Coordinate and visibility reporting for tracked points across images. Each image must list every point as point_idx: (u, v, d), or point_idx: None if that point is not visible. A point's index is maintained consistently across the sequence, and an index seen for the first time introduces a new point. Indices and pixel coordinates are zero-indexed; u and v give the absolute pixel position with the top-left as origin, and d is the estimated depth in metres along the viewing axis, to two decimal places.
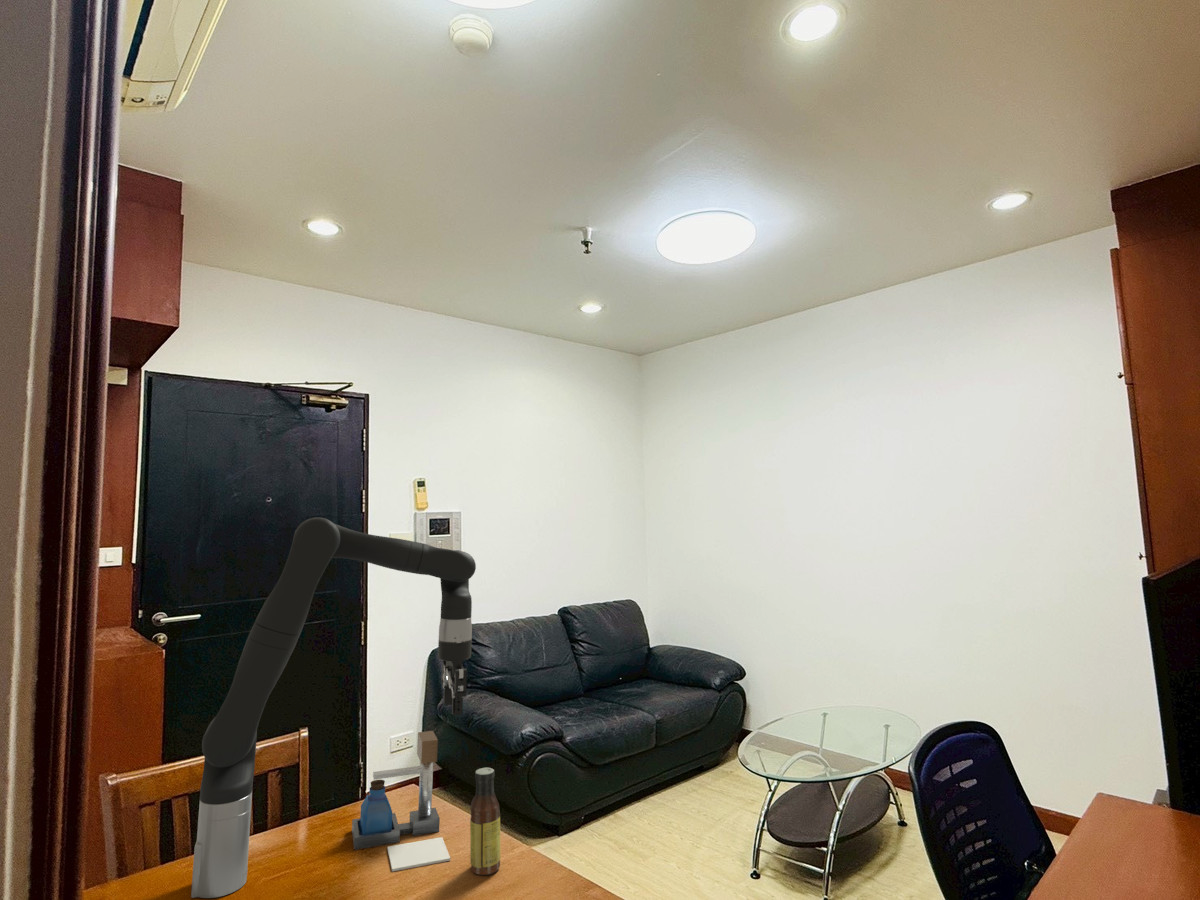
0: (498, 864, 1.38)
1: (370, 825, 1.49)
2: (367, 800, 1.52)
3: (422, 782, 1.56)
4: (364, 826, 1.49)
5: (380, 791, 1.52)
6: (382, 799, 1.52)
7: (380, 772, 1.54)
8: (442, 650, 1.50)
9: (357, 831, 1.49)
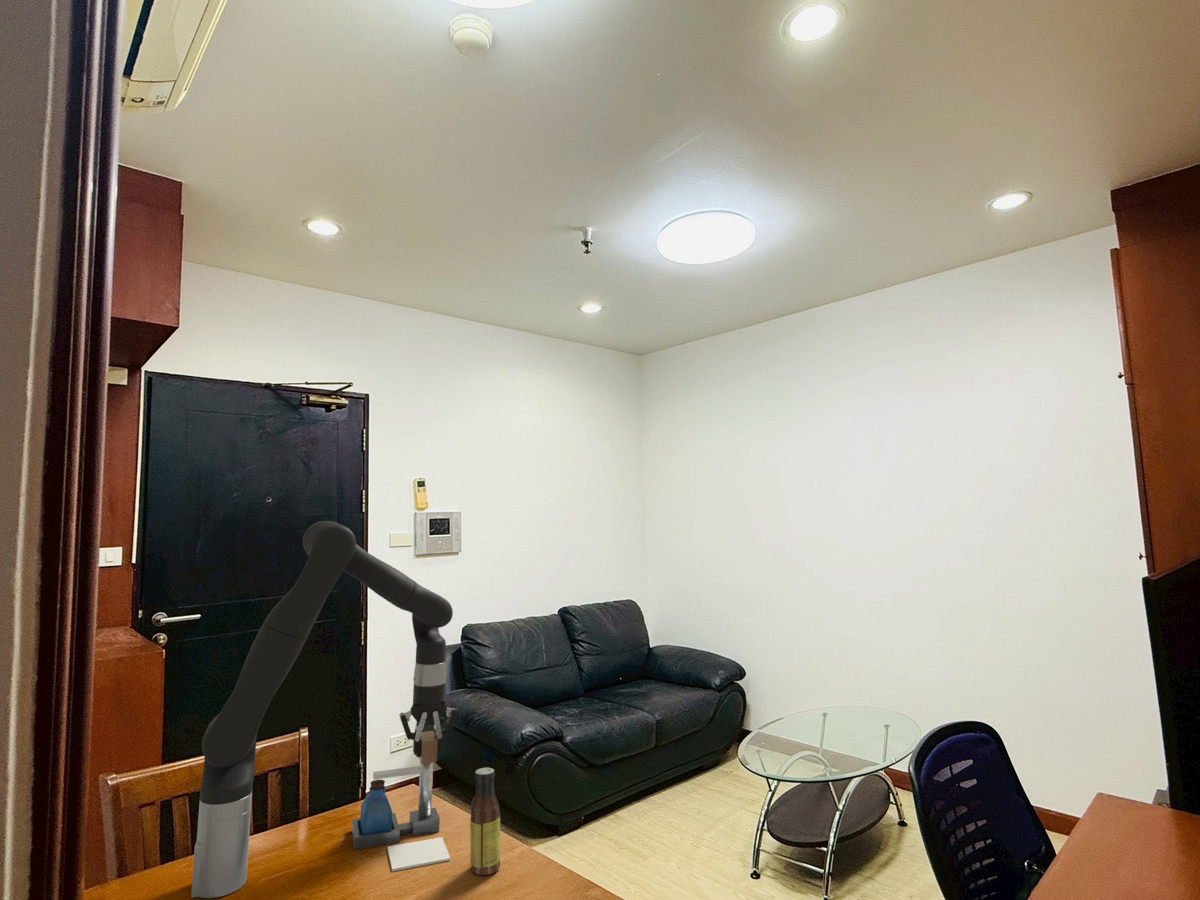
0: (498, 864, 1.38)
1: (370, 825, 1.49)
2: (367, 800, 1.52)
3: (422, 782, 1.56)
4: (364, 826, 1.49)
5: (380, 791, 1.52)
6: (382, 799, 1.52)
7: (380, 772, 1.54)
8: (439, 693, 1.57)
9: (357, 831, 1.49)
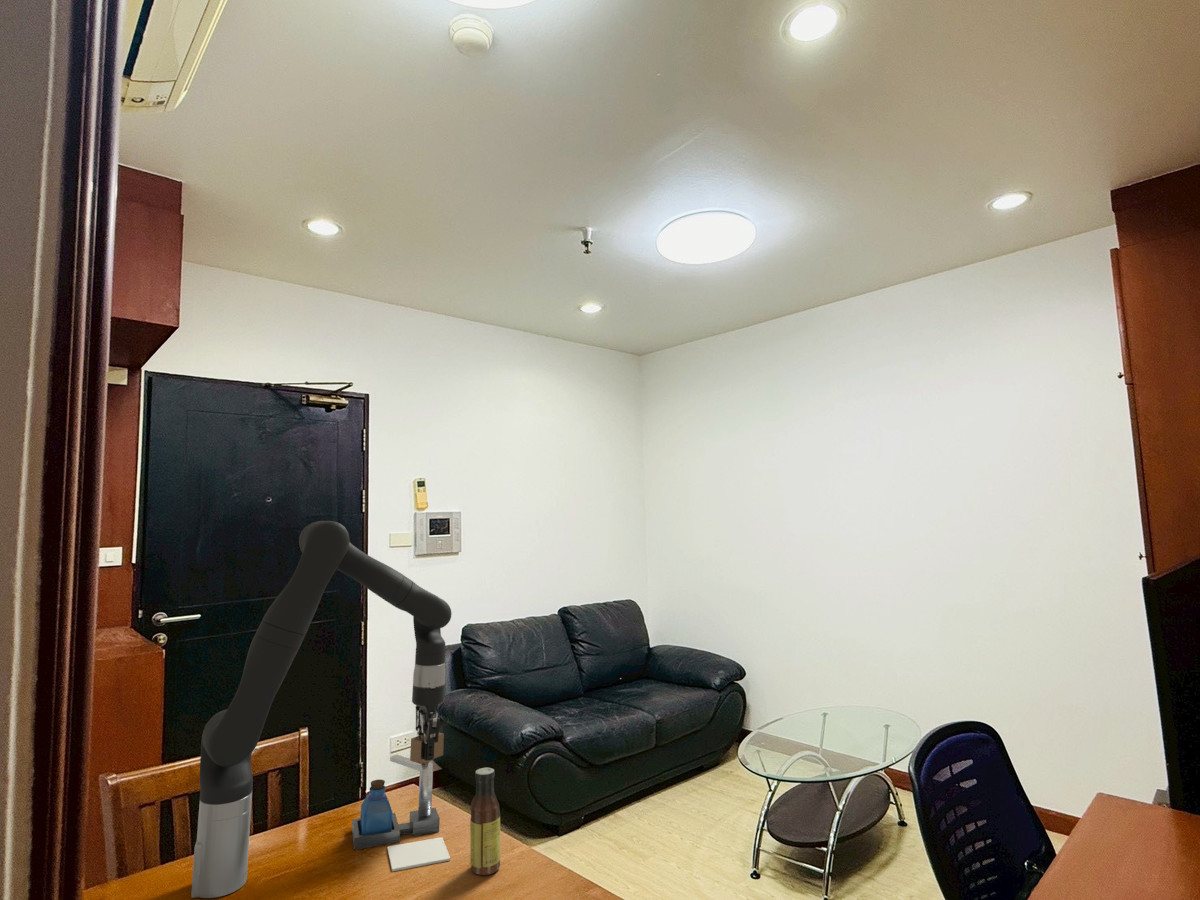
0: (498, 864, 1.38)
1: (370, 825, 1.49)
2: (367, 800, 1.52)
3: (419, 780, 1.57)
4: (364, 826, 1.49)
5: (380, 791, 1.52)
6: (382, 799, 1.52)
7: (397, 757, 1.64)
8: (417, 695, 1.56)
9: (357, 831, 1.49)
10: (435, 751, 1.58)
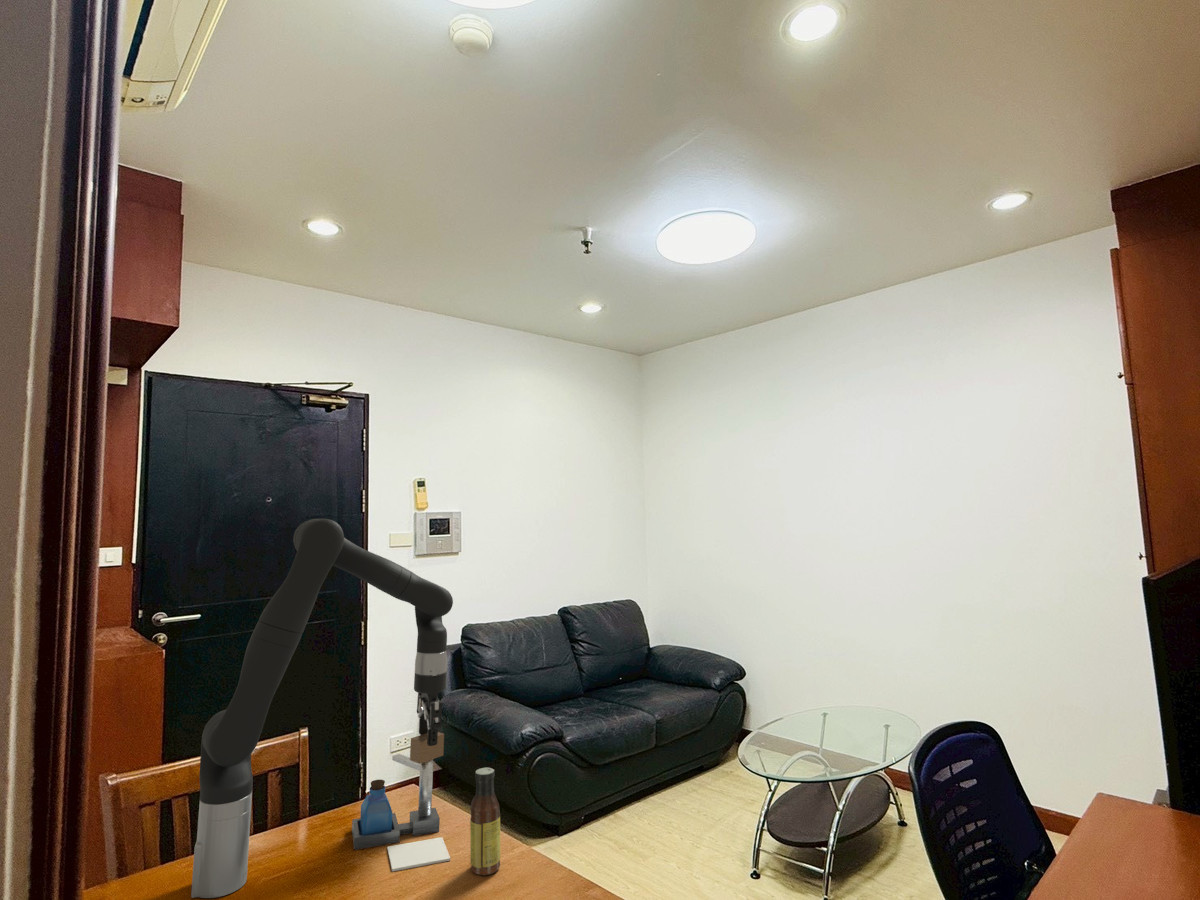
0: (498, 864, 1.38)
1: (370, 825, 1.49)
2: (367, 800, 1.52)
3: (419, 780, 1.57)
4: (364, 826, 1.49)
5: (380, 791, 1.52)
6: (382, 799, 1.52)
7: (399, 756, 1.64)
8: (418, 682, 1.57)
9: (357, 831, 1.49)
10: (435, 751, 1.58)
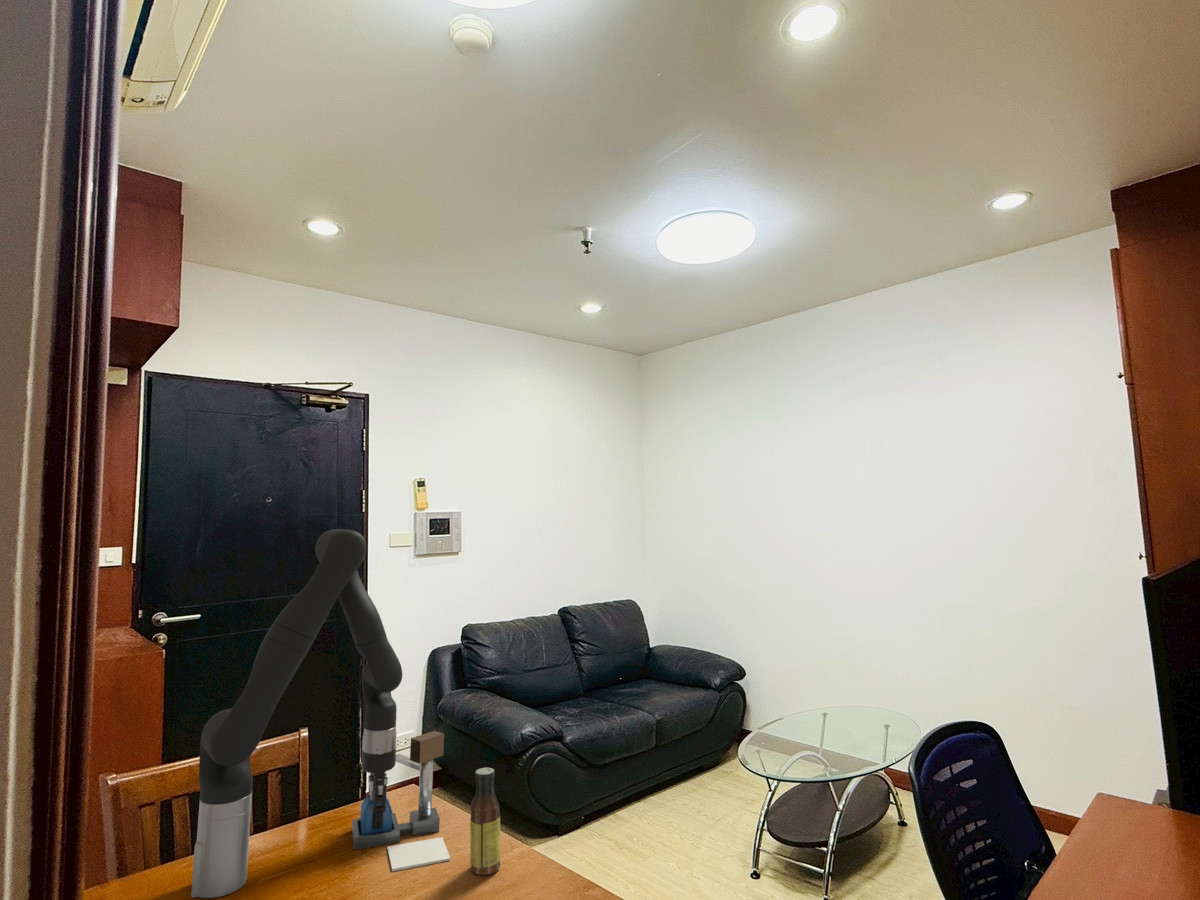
0: (498, 864, 1.38)
1: (370, 824, 1.49)
2: (367, 800, 1.52)
3: (419, 780, 1.57)
4: (364, 826, 1.49)
5: None
6: None
7: (399, 756, 1.64)
8: (364, 761, 1.51)
9: (357, 831, 1.49)
10: (435, 751, 1.58)
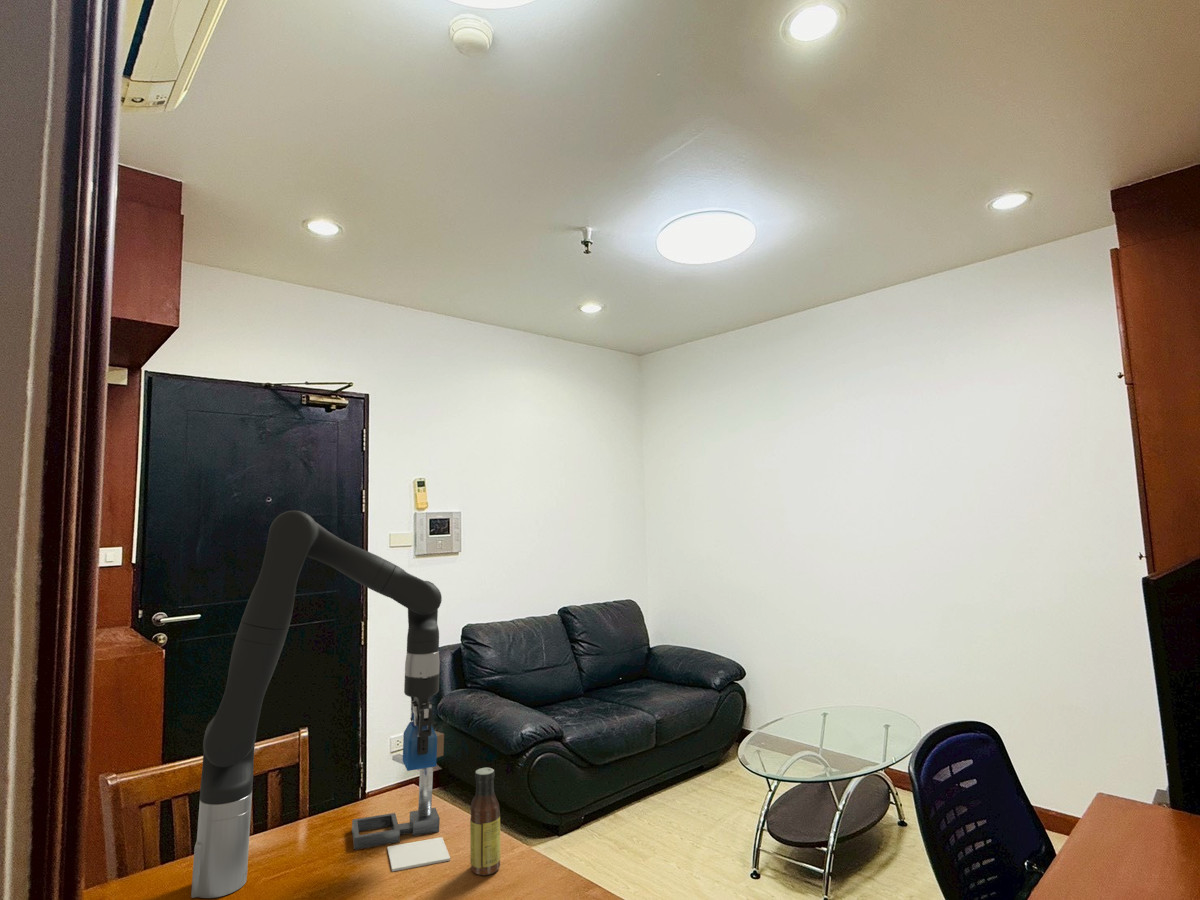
0: (498, 864, 1.38)
1: (415, 750, 1.44)
2: (411, 726, 1.47)
3: (419, 780, 1.57)
4: (409, 751, 1.43)
5: None
6: None
7: (399, 756, 1.64)
8: (408, 685, 1.46)
9: (357, 831, 1.49)
10: None
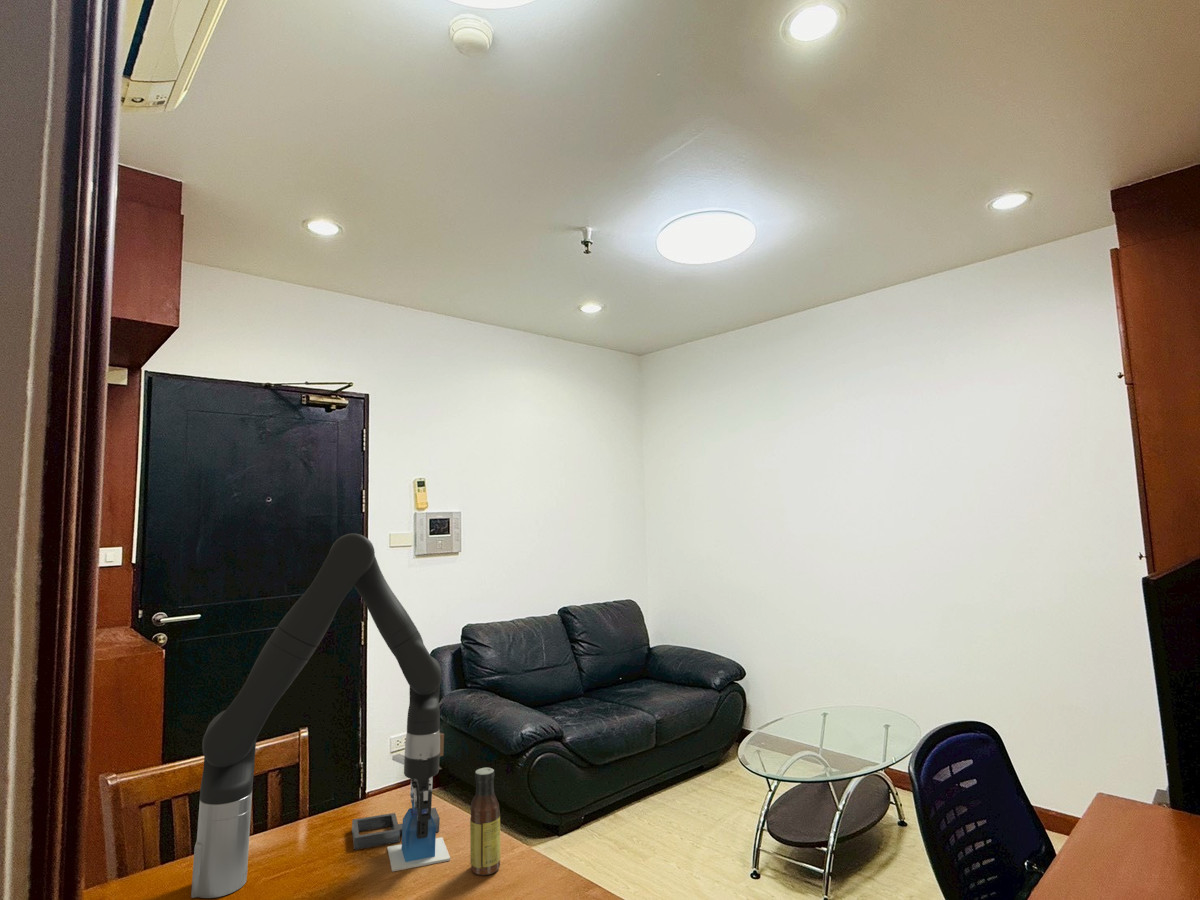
0: (498, 864, 1.38)
1: (413, 840, 1.41)
2: (409, 814, 1.44)
3: None
4: (407, 841, 1.41)
5: None
6: None
7: (399, 756, 1.64)
8: (407, 767, 1.43)
9: (357, 831, 1.49)
10: None
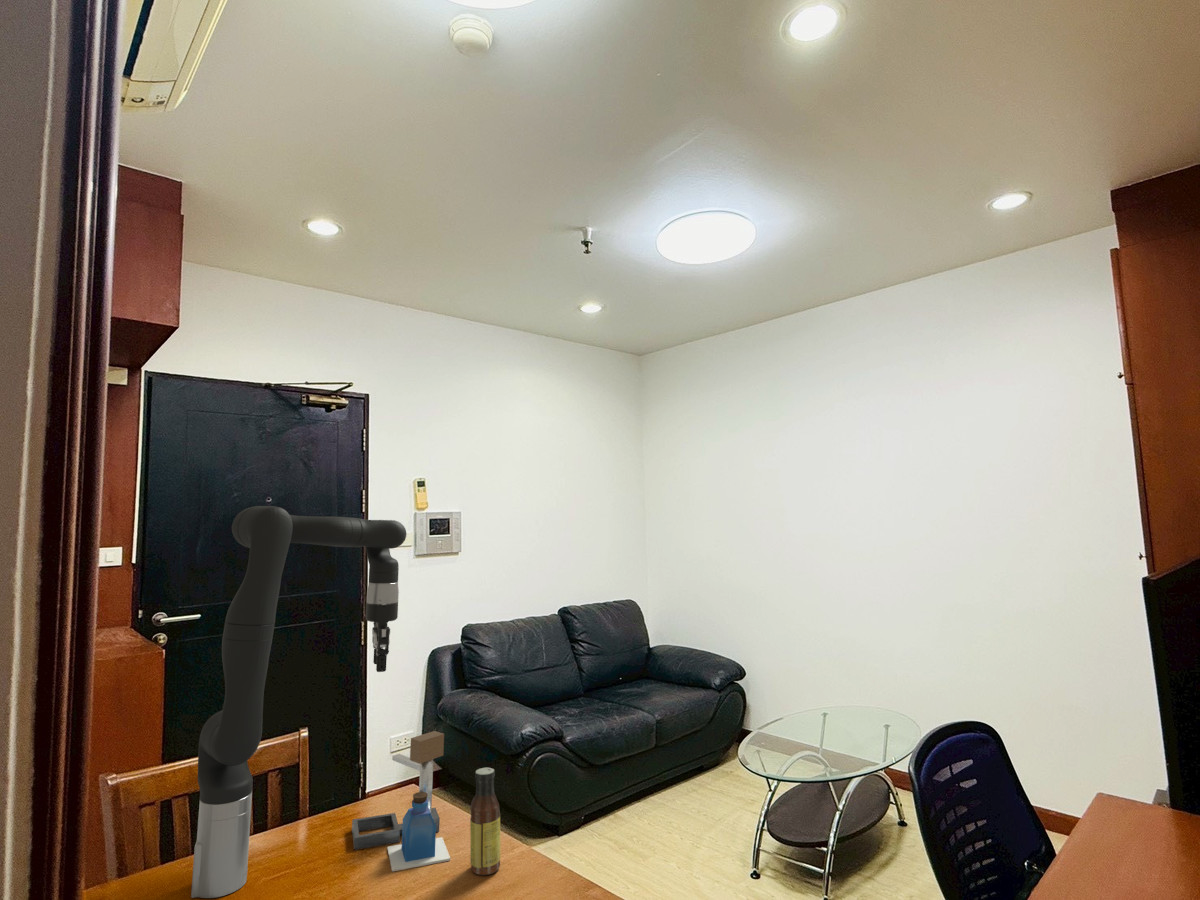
0: (498, 864, 1.38)
1: (413, 840, 1.41)
2: (409, 814, 1.44)
3: (419, 780, 1.57)
4: (407, 841, 1.41)
5: (423, 804, 1.44)
6: (425, 813, 1.44)
7: (399, 756, 1.64)
8: (369, 611, 1.61)
9: (357, 831, 1.49)
10: (435, 751, 1.58)
